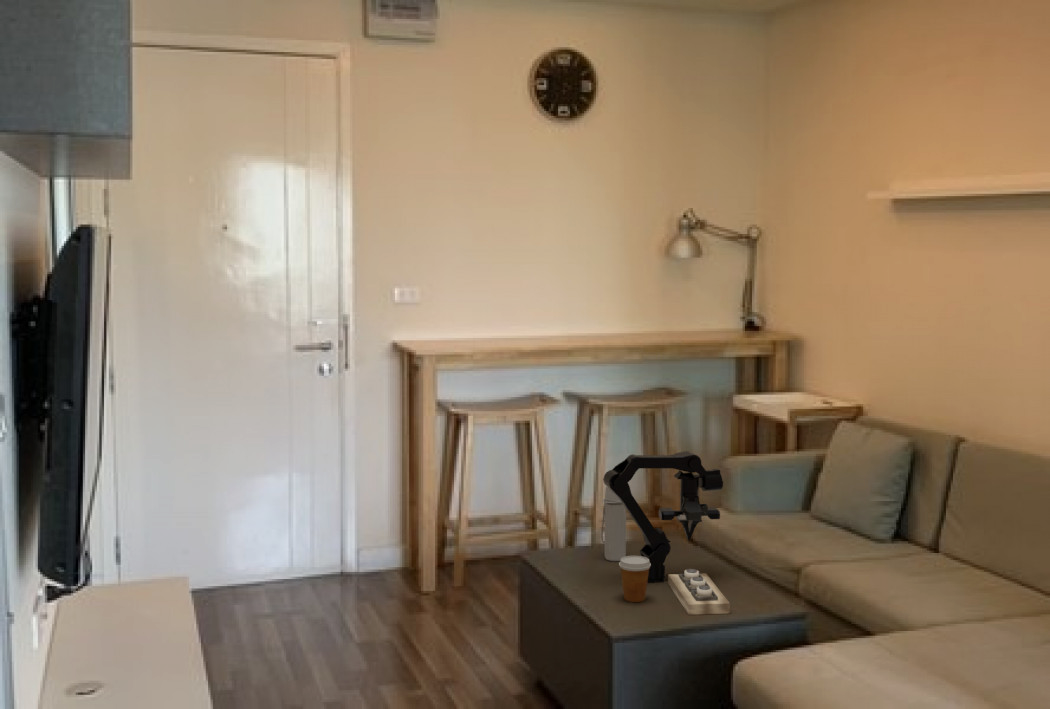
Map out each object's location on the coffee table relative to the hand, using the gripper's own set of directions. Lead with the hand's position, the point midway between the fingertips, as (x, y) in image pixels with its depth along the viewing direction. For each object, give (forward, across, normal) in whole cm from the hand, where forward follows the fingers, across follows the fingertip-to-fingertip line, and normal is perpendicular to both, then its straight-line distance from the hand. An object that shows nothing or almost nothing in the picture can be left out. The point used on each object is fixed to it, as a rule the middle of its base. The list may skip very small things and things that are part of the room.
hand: (688, 539), depth 341 cm
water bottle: (+12, -21, +21) cm, 32 cm away
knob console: (+12, -2, -21) cm, 24 cm away
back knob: (+9, -2, -13) cm, 16 cm away
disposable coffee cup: (+12, -21, -20) cm, 31 cm away
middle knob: (+9, -2, -21) cm, 23 cm away
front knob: (+9, -2, -29) cm, 30 cm away
